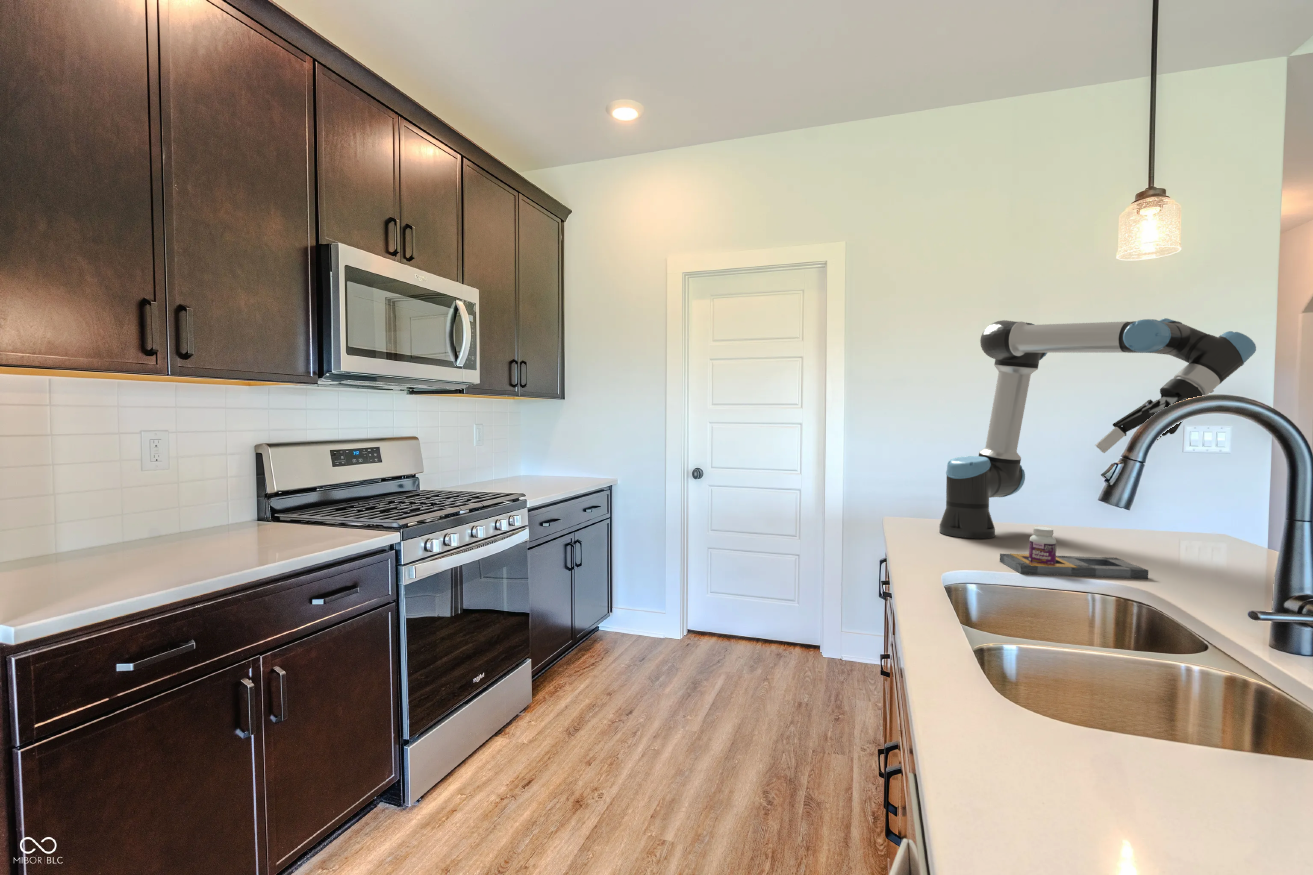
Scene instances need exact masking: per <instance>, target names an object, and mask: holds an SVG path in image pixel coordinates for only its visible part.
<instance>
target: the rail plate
mask: <svg viewBox="0 0 1313 875" xmlns="http://www.w3.org/2000/svg"><path fill="white" fill-rule="evenodd" d="M999 562H1000V563H1002V564H1003V565H1005V566H1007V567H1008V568H1010V569H1012V570H1014V571H1015V572H1016V573H1019V574H1021V575H1036V576H1037V575H1041V576H1062V577H1063V576H1064V577H1083V578H1084V577H1085V578H1086V577H1087V578H1109V579H1110V578H1112V579H1134V580H1135V579H1136V580H1138V579H1140V580H1148V579H1149V569H1147V568H1144V567H1141V566H1139V565H1137V564H1134V563H1131V562H1129V561H1126V560H1123V559H1121V558H1118V557H1110V556H1109V557H1108V556H1107V557H1106V556H1080V555H1079V556H1078V555H1077V556H1076V555H1056V564H1050V563H1032V562H1030V561H1029V553H999Z"/></svg>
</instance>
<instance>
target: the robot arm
mask: <svg viewBox="0 0 1313 875" xmlns="http://www.w3.org/2000/svg"><path fill="white" fill-rule="evenodd" d="M979 342H980V347H981V350H982V351H983V353H984V354H985V356H987V357H989V358H991V359H994V364H993V365H994V368H996V370H997V371H998V373H997V380H996V385H995V391H994V396H993V397H994V398H993V403H992V406H991V407H992V409H991V413H990V420H989V425H988V431H987V437H986V442H985V447H984V448H982V449H981V450H979V451H978V455H973V456H972V455H969V456H960V457H954V458H951V459H950V460H948V462H947V465H946V471H945V474H946V492H945V493H946V494H945V496H946V497H945V498H946V499H945V500H946V501H945V503H946V504H945V510H944V511H943V515H942V517H941V520H940V523H939V526H938V528H939V534H942V535H946V536H951V537H955V538H964V539H977V540H978V539H979V540H980V539H991V538H994V537H996V527H995V525H994V521H993V519H992V515H991V512H990V498H1005V497H1008V496H1011V495H1014V494H1017V493H1018V492H1019V491H1020V490H1021V489H1022V487H1023V486H1024V484H1025V481H1026V472H1025V469H1023V466H1022V464H1021V462H1022V457H1021V455H1020V454H1019V453H1018V446H1019V442H1020V435H1021V430H1022V424H1023V418H1024V413H1025V409H1026V404H1027V398H1028V392H1029V388H1030V387H1029V386H1030V381H1031V376H1032V375H1033V373H1035V372H1036V371H1038V369H1039V364H1040V361H1041V360H1043V359H1044V357H1046V355H1047V354H1048V353H1053V354H1054V353H1055V354H1056V353H1071V354H1072V353H1073V354H1074V353H1077V354H1078V353H1080V354H1081V353H1093V354H1094V353H1125V354H1126V353H1127V354H1131V353H1132V354H1139V353H1140V354H1143V353H1144V354H1146V353H1147V354H1157V355H1158V354H1159V355H1167V356H1171V357H1172V358H1173V357H1174V358H1176V359H1177V360H1181V361H1183V362H1186V363H1187V364H1186V365H1185V366H1184V367H1183V368H1182V369H1180V370H1179V371H1178V372H1177V373H1176V374H1174V376H1173V378H1171V379H1170V380H1168V381H1167V382H1166V383H1165V384H1164V385H1162V387H1160V389H1159V394H1160V398H1159V399H1156V400H1154V401H1153V400H1152V399H1151V398H1150V399H1148V400H1146V401H1145V402H1144V403H1143V404H1142V405H1140V406H1138V407H1137V408H1135V409H1134V410H1133V411H1130V412H1129V413H1128V414H1127V415H1124V416H1123V417H1121V418H1120V419H1118V420H1116V421H1115V422H1114V423H1112V427H1113V429H1112V430H1111V431H1109V432H1108V433H1107V434H1106V435H1105V436H1104V437H1102V438H1101V439H1100V440H1099V441H1098V442H1097V443H1096V444H1094V446H1095V447H1096V448H1097V449H1098V450H1099V451H1100V452H1102V453H1103V454H1105V453H1106V452H1108V451H1109V450H1110V449H1111V448H1112V447H1114V446H1115V445H1116V444H1117V443H1118V442H1119V441H1121V440H1122V439H1123V438H1124V437H1127V433H1128V432H1131V431H1132V430H1134V429H1136V428H1138V427H1140V426H1141V425H1144V424H1145V423H1146V422H1145V421H1146V420H1147V419H1149V418H1150V417H1151V416H1153V415H1154V414H1155V413H1157V412H1158V411H1160V410H1162V409H1163V408H1165V407H1168V406H1169V405H1171V404H1174V403H1176V402H1179V401H1183V400H1186V399H1188V398H1193V397H1197V396H1202V395H1206V396H1208V395H1210V394H1212V393H1214V392H1215V389H1216V388H1217V387H1218V386H1219V385H1220V384H1222V383H1223V382H1224V381H1225V380H1226V379H1227V378H1228V377H1230V376H1231V375H1232V374H1233V373H1235V372H1236V371H1237V370H1238V369H1240V368H1241V367H1242V366H1244V365H1245V363H1247V361H1248V360H1249V359H1250V358H1251V357H1252V356H1254V355H1255V353H1256V351H1257V345H1256V343H1255V341H1253V340H1252V338H1250V337H1249V336H1247V334H1244V333H1242V332H1238V331H1231V330H1230V331H1226V332H1223V333H1222V334H1220V335H1219V336H1216V335H1214V334H1213V335H1212V334H1210V333H1206V332H1204V331H1201V330H1199V329H1196V328H1194V327H1192V326H1189V325H1187V324H1185V323H1182V322H1181V321H1178V320H1174V319H1171V318H1168V317H1167V318H1165V317H1164V318H1161V319H1160V320H1157V319H1151V318H1147V319H1139V320H1135V321H1134V320H1132V321H1108V322H1107V321H1105V322H1077V323H1074V322H1073V323H1049V324H1046V323H1045V324H1044V323H1043V324H1035V323H1031V322H1027V321H1026V322H1025V321H1013V320H1005V319H1004V320H998V321H994V322H992V323H990V324H989V325H988V326H987V327H986V328H985V329H984V330H983V331H982V334H981V335H980V339H979ZM1183 421H1184V420H1183ZM1183 421H1182V422H1180V423H1179V424H1176V425H1175V426H1174V427H1172V426H1171V427H1172V428H1170V429H1169V430H1167V431H1166V432H1165V433H1163V434H1162V436H1160V438H1159V439H1162V437H1165V436H1167V435H1168V434H1169V435H1174V434H1175V433H1176V432H1177V431H1178V429H1179V428H1180V426H1181V425H1182V423H1183ZM1144 422H1145V423H1144ZM1143 423H1144V424H1143ZM1159 439H1157V441H1159Z"/></svg>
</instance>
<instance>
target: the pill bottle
mask: <svg viewBox="0 0 1313 875" xmlns="http://www.w3.org/2000/svg"><path fill="white" fill-rule="evenodd" d="M1032 530H1033V531H1032V533H1033V535H1031V536H1030V537H1029V540H1028V541H1029V545H1028V554H1029V561H1030V562H1032V563H1050V564H1056V556H1057V540H1056V538H1055V537H1053V535H1054V529H1053V528H1050V527H1045V526H1034V527H1033V529H1032Z"/></svg>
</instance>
